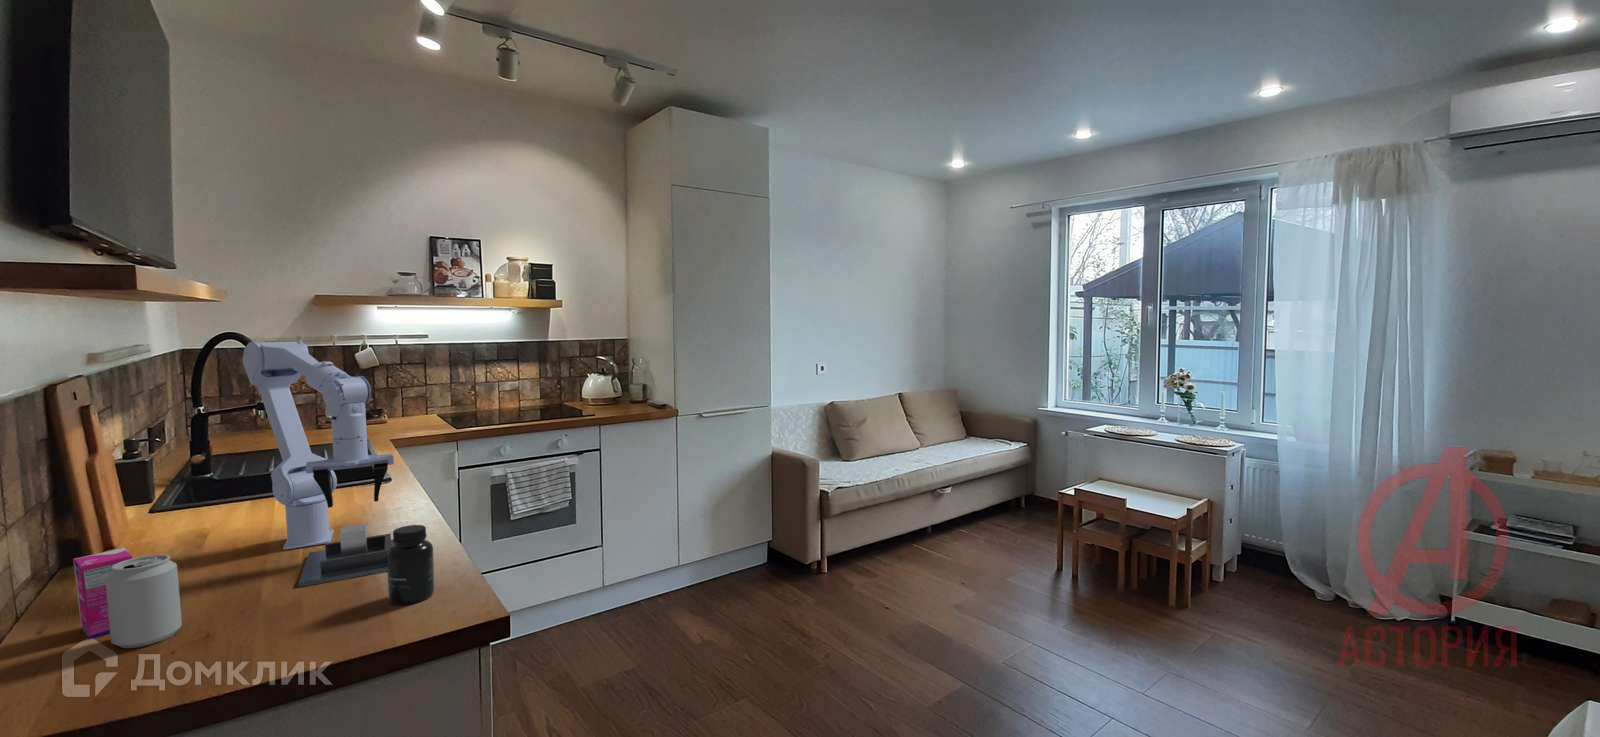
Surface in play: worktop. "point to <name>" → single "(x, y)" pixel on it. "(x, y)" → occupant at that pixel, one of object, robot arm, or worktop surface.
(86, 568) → the supplement box
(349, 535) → the block
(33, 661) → the worktop surface
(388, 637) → the worktop surface
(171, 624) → the can
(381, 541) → the cradle
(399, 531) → the supplement bottle
